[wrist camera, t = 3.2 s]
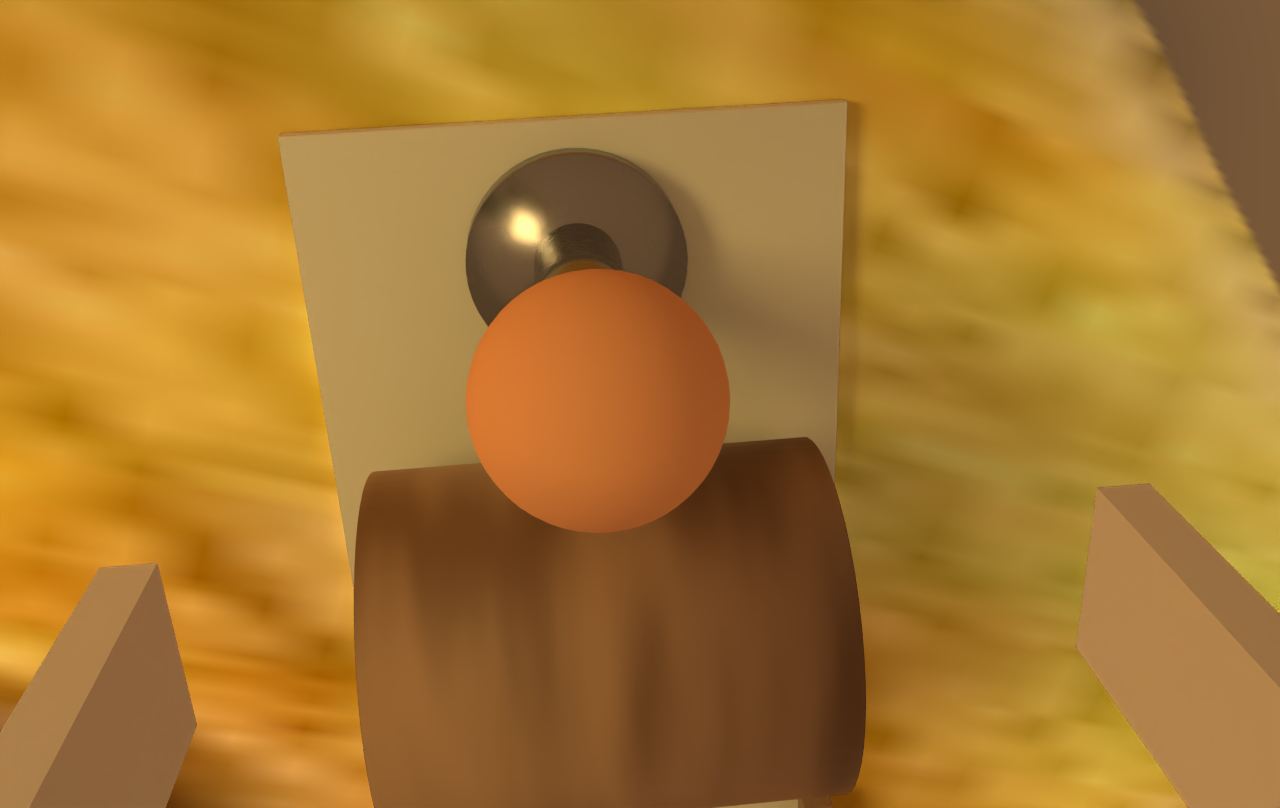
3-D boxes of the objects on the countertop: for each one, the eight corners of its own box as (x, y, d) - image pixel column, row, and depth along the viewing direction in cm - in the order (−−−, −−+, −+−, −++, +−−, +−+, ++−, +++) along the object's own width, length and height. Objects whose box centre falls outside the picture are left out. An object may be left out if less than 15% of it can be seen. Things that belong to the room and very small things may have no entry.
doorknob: (477, 363, 32) (469, 479, 26) (455, 154, 30) (441, 230, 24) (686, 348, 32) (724, 458, 26) (680, 140, 30) (721, 211, 24)
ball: (482, 466, 26) (475, 596, 21) (458, 244, 24) (444, 336, 19) (711, 448, 26) (752, 572, 22) (707, 227, 24) (752, 314, 20)
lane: (440, 1085, 44) (432, 1219, 40) (280, 133, 29) (240, 182, 25) (814, 1041, 45) (846, 1168, 41) (843, 99, 30) (898, 141, 26)
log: (420, 682, 36) (393, 925, 28) (381, 412, 32) (336, 602, 24) (781, 648, 37) (857, 876, 29) (785, 381, 33) (873, 555, 25)
